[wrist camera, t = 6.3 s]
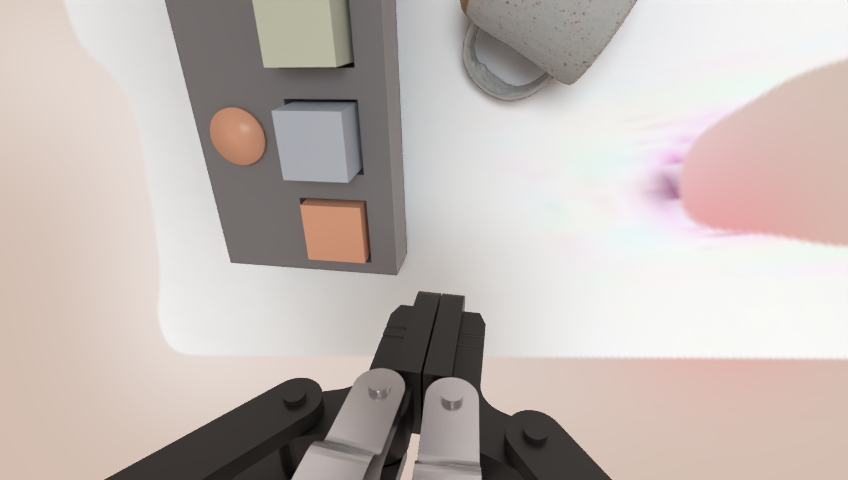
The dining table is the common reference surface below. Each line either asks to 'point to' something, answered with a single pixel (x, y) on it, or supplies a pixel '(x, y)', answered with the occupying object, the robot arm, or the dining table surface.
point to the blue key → (318, 141)
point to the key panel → (256, 140)
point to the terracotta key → (336, 230)
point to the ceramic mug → (542, 37)
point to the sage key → (304, 33)
